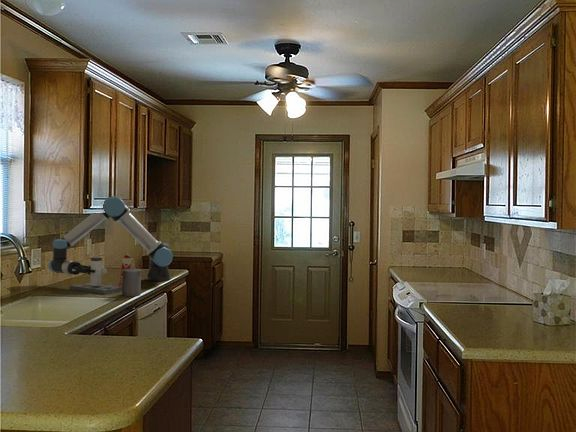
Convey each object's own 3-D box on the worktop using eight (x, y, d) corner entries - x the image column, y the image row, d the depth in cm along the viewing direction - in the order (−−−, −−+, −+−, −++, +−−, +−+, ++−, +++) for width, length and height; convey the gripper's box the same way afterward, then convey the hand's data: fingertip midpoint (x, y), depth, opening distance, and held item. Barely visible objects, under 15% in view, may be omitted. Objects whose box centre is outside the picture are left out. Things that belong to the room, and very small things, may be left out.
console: (69, 289, 317) (69, 285, 317) (88, 286, 330) (88, 282, 330) (104, 294, 306) (104, 290, 306) (122, 290, 319) (122, 286, 319)
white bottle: (90, 285, 317) (90, 257, 317) (95, 284, 321) (96, 257, 320) (95, 286, 315) (96, 258, 315) (101, 285, 319) (101, 257, 319)
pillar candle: (119, 294, 308) (120, 266, 308) (136, 292, 314) (137, 265, 314) (126, 297, 301) (126, 269, 300) (143, 295, 307) (144, 268, 306)
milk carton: (132, 287, 330) (133, 253, 329) (117, 287, 330) (117, 253, 329) (137, 285, 339) (138, 252, 338) (122, 284, 339) (122, 251, 338)
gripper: (83, 272, 333) (113, 276, 324) (60, 276, 318) (91, 279, 308) (83, 259, 333) (114, 263, 323) (60, 262, 318) (92, 266, 308)
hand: (103, 271), depth 316 cm, fingers closed on white bottle, 4 cm apart
